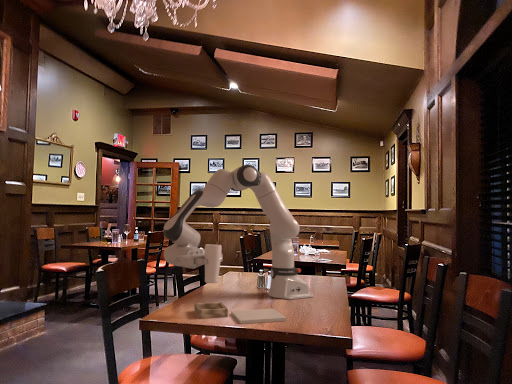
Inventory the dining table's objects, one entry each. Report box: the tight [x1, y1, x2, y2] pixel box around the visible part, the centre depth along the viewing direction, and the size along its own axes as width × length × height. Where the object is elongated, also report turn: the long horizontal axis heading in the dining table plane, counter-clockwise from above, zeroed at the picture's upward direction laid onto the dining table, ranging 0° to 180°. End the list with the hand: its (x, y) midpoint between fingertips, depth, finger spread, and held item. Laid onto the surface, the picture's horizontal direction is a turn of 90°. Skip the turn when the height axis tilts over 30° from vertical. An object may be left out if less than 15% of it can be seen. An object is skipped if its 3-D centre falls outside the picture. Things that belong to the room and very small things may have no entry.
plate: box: [230, 308, 287, 325], centre depth 145 cm, size 18×14×1 cm
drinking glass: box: [204, 243, 223, 284], centre depth 150 cm, size 7×7×15 cm
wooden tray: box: [193, 301, 229, 320], centre depth 149 cm, size 11×11×3 cm
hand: (214, 260), depth 150 cm, fingers closed on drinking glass, 6 cm apart
